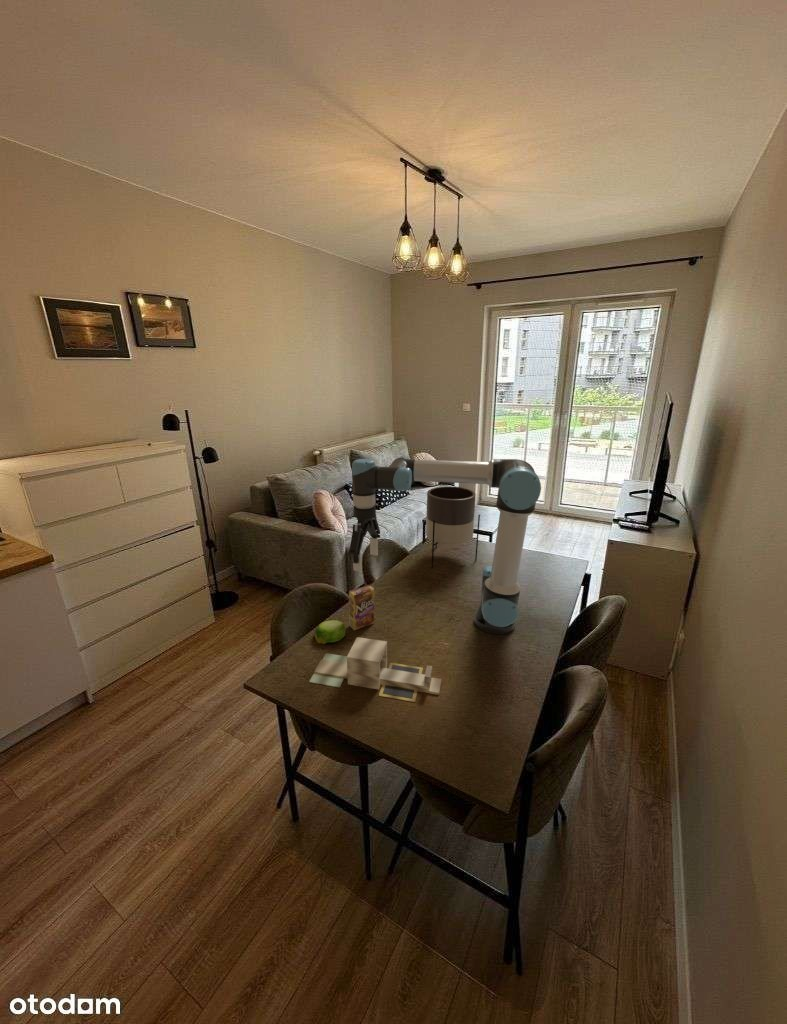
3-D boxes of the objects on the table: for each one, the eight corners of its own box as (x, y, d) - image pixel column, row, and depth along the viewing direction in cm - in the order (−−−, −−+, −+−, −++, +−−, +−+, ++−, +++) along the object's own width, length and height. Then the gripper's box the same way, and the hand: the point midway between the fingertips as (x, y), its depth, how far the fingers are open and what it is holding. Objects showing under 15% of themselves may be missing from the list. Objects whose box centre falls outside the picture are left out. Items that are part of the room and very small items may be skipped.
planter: (460, 576, 195) (464, 505, 183) (414, 563, 208) (415, 495, 196) (481, 556, 216) (486, 491, 204) (438, 545, 228) (440, 483, 217)
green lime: (332, 649, 145) (332, 637, 143) (309, 639, 150) (308, 627, 148) (352, 632, 154) (352, 621, 153) (329, 623, 159) (328, 612, 158)
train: (431, 677, 131) (432, 658, 128) (429, 690, 125) (429, 671, 123) (358, 665, 136) (358, 647, 133) (352, 677, 130) (352, 659, 128)
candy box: (354, 631, 154) (353, 595, 149) (349, 625, 158) (347, 590, 153) (375, 623, 159) (374, 588, 154) (369, 618, 162) (368, 583, 157)
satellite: (443, 671, 134) (444, 644, 131) (437, 706, 121) (438, 677, 117) (326, 652, 143) (325, 627, 139) (308, 683, 129) (306, 656, 126)
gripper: (369, 494, 152) (371, 547, 159) (336, 515, 130) (339, 576, 137) (388, 496, 150) (389, 550, 157) (358, 518, 128) (360, 580, 135)
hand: (366, 562), depth 147 cm, fingers open, 13 cm apart
